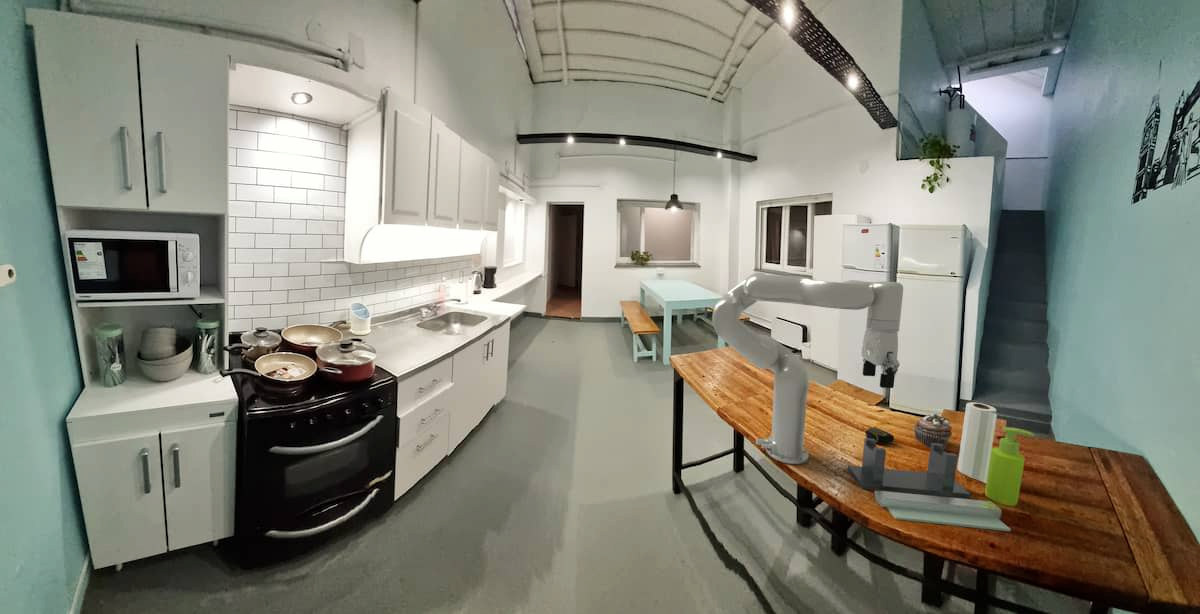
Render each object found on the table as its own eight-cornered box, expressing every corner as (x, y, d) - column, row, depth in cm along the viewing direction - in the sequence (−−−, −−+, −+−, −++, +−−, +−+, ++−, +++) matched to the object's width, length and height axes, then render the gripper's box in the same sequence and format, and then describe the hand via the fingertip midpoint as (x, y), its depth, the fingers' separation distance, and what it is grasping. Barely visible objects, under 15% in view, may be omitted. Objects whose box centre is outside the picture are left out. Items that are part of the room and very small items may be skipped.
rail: (880, 506, 95) (881, 497, 95) (874, 498, 98) (875, 490, 98) (1000, 518, 90) (1001, 509, 90) (990, 510, 93) (991, 501, 93)
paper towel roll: (957, 465, 113) (966, 399, 110) (985, 473, 109) (996, 405, 105) (956, 475, 108) (966, 407, 105) (986, 484, 104) (997, 413, 100)
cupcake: (923, 433, 132) (926, 407, 130) (956, 447, 123) (960, 419, 121) (905, 438, 129) (908, 412, 127) (937, 453, 120) (941, 424, 118)
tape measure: (894, 444, 126) (895, 434, 125) (880, 448, 124) (881, 437, 123) (874, 435, 132) (875, 425, 132) (860, 438, 130) (861, 428, 130)
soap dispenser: (1027, 510, 94) (1039, 437, 90) (989, 501, 97) (1000, 431, 94) (1017, 496, 98) (1029, 427, 95) (981, 488, 102) (991, 421, 99)
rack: (861, 488, 103) (865, 451, 102) (847, 469, 112) (850, 435, 110) (970, 499, 98) (976, 459, 96) (946, 478, 107) (951, 442, 105)
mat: (895, 519, 92) (895, 516, 92) (874, 493, 101) (874, 491, 101) (1010, 531, 87) (1010, 529, 87) (976, 503, 97) (977, 501, 96)
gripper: (853, 318, 114) (849, 371, 117) (884, 331, 97) (878, 391, 100) (881, 319, 113) (876, 372, 115) (916, 331, 96) (909, 393, 99)
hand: (877, 381), depth 108 cm, fingers open, 9 cm apart
